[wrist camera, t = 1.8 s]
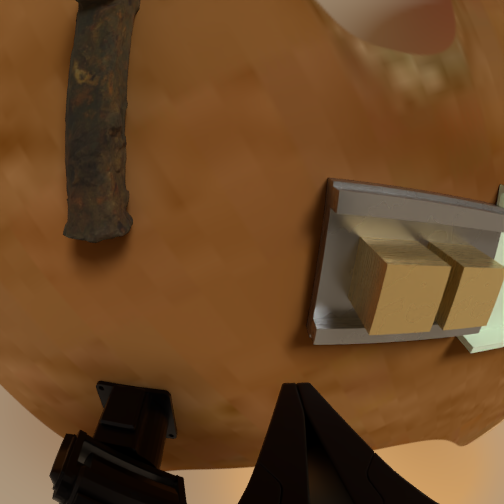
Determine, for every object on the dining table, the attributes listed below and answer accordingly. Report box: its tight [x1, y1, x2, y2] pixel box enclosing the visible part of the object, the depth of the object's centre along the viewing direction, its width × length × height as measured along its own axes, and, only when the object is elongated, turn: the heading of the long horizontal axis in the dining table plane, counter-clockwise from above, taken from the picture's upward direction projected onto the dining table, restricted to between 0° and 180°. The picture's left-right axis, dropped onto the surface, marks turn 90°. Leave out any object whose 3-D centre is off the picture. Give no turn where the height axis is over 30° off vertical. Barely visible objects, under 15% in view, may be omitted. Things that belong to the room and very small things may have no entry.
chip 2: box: [428, 242, 504, 330], centre depth 17 cm, size 4×4×4 cm
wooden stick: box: [63, 0, 140, 243], centre depth 13 cm, size 19×4×5 cm, turn 174°
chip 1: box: [348, 236, 451, 335], centre depth 16 cm, size 4×4×4 cm
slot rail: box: [306, 178, 504, 345], centre depth 18 cm, size 10×14×2 cm
